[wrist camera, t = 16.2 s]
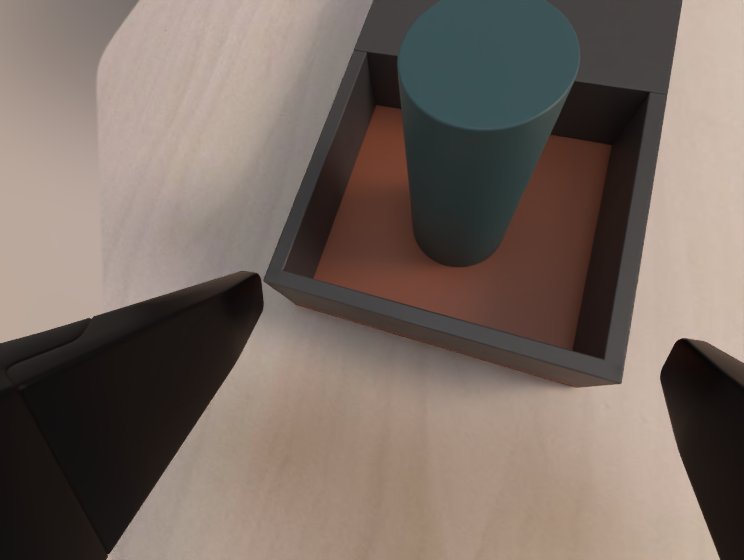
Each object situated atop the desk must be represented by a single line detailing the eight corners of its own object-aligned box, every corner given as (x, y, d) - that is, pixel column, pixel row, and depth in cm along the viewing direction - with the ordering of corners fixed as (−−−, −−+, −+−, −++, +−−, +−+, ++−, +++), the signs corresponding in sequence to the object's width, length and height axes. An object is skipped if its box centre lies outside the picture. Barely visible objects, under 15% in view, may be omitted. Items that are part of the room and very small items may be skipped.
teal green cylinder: (524, 229, 22) (622, 54, 11) (452, 285, 22) (476, 164, 11) (463, 168, 24) (494, -40, 13) (395, 219, 24) (362, 53, 12)
